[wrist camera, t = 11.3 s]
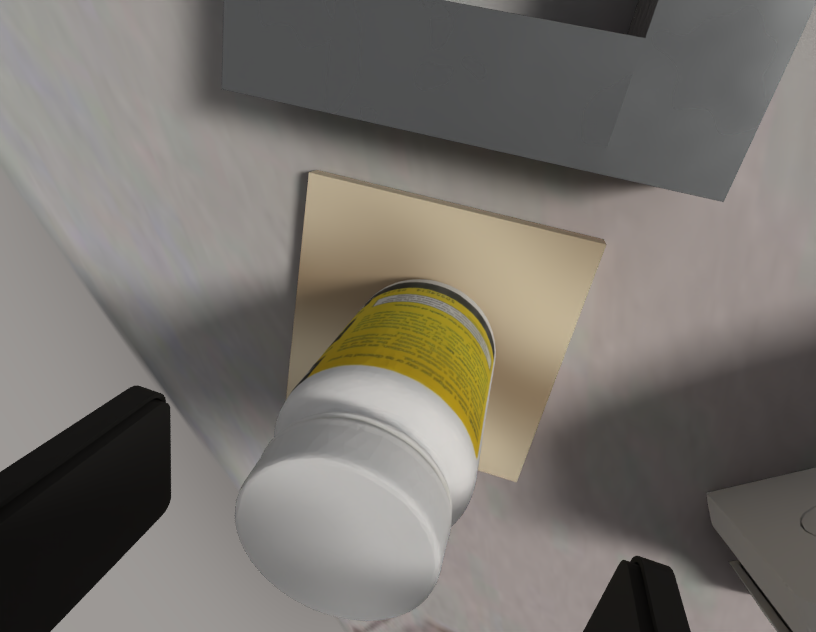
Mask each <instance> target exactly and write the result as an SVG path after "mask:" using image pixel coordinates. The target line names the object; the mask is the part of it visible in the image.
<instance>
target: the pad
mask: <svg viewBox="0 0 816 632" xmlns="http://www.w3.org/2000/svg"><path fill="white" fill-rule="evenodd" d="M605 247H606V243H605V241H604V239H600V238H595V237H591V236H587V235H583V234H579V233H575V232H571V231H567V230H562V229H558V228H554V227H550V226H546V225H542V224H538V223H534V222H529V221H525V220H521V219H517V218H513V217H509V216H505V215H501V214H496V213H492V212H488V211H484V210H480V209H476V208H472V207H468V206H463V205H459V204H455V203H451V202H447V201H443V200H439V199H434V198H430V197H426V196H422V195H418V194H414V193H410V192H406V191H401V190H397V189H393V188H389V187H385V186H381V185H377V184H373V183H368V182H364V181H360V180H356V179H352V178H348V177H344V176H340V175H335V174H331V173H327V172H323V171H319V170H315V171H311V172H309V177H308V187H307V197H306V206H305V216H304V226H303V236H302V246H301V256H300V266H299V276H298V286H297V296H296V305H295V315H294V325H293V335H292V345H291V355H290V365H289V375H288V385H287V394H286V400H287V398H288V396H289V395H290V393H291V392H292V390H293V389H294V388H295V387H296V385H297V384H298V383H299V382H300V381H301V380H302V378H303V377H304V376H305V375H306V374H307V373H308V372H309V370H310V369H311V368H312V366H313V365H314V364H315V363H316V362H317V361H318V359H319V358H320V357H321V356H322V355H323V353H324V352H325V351H326V350H327V349H328V347H329V346H330V345H331V344H332V343H333V342H334V341H335V339H336V338H337V337H338V335H339V334H340V333H341V332H342V331H343V330H344V328H345V327H346V326H347V325H348V324H349V323H350V322H351V320H352V319H353V318H354V317H355V315H356V314H357V313H358V312H359V311H360V309H361V308H362V307H363V306H364V305H365V304H366V303H367V301H368V300H369V299H370V298H371V297H372V296H374V295H375V294H376V293H377V292H379V291H380V290H382V289H383V288H385V287H387V286H389V285H391V284H394V283H397V282H400V281H405V280H412V279H426V280H433V281H438V282H441V283H444V284H447V285H450V286H452V287H454V288H456V289H458V290H460V291H461V292H463V293H464V294H466V295H467V296H468V297H470V298H471V299H472V300H473V301H474V302H475V303H476V304H477V305H478V306H479V307H480V309H481V310H482V311H483V313H484V314H485V316H486V318H487V319H488V321H489V323H490V326H491V329H492V331H493V336H494V340H495V348H496V358H495V365H494V371H493V377H492V383H491V389H490V395H489V401H488V407H487V413H486V419H485V426H484V432H483V439H482V446H481V453H480V460H479V467H478V470H479V471H482V472H485V473H488V474H491V475H495V476H498V477H501V478H504V479H507V480H511V481H514V482H517V480H518V477H519V475H520V472H521V469H522V467H523V464H524V461H525V459H526V456H527V453H528V451H529V448H530V446H531V443H532V440H533V438H534V435H535V432H536V430H537V427H538V424H539V422H540V419H541V416H542V414H543V411H544V408H545V406H546V403H547V400H548V398H549V395H550V392H551V390H552V387H553V385H554V382H555V379H556V377H557V374H558V371H559V369H560V366H561V363H562V361H563V358H564V355H565V353H566V350H567V347H568V345H569V342H570V339H571V337H572V334H573V331H574V329H575V326H576V324H577V321H578V318H579V316H580V313H581V310H582V308H583V305H584V302H585V300H586V297H587V294H588V292H589V289H590V286H591V284H592V281H593V278H594V276H595V273H596V270H597V268H598V265H599V262H600V260H601V257H602V255H603V252H604V249H605Z"/></svg>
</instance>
